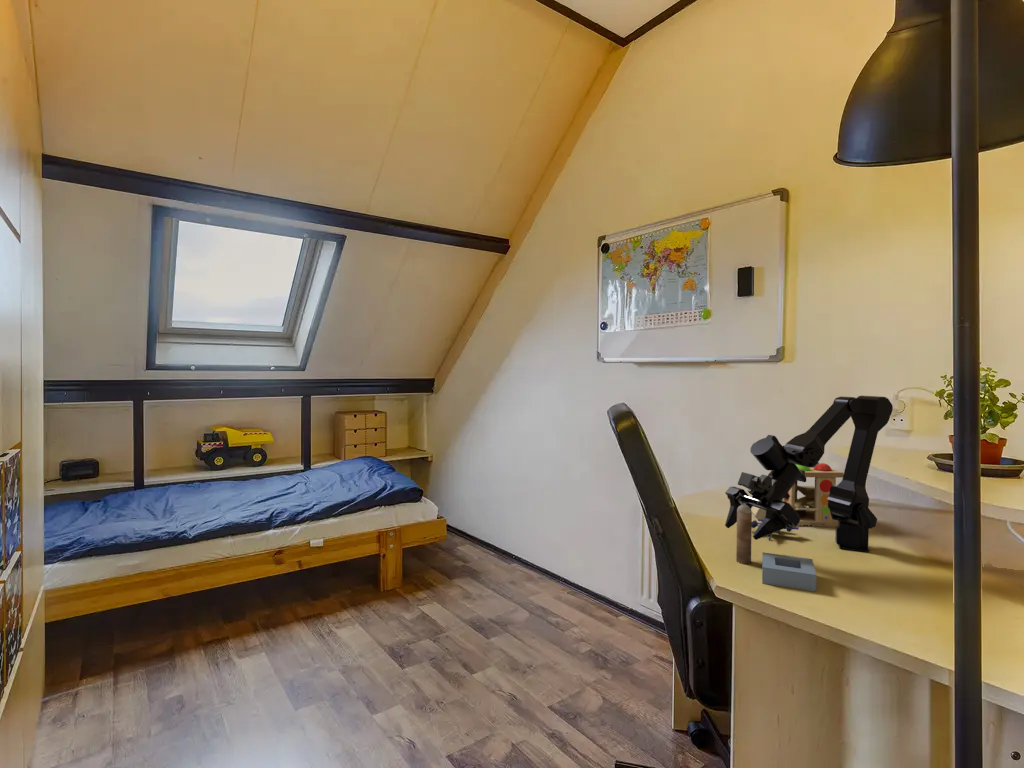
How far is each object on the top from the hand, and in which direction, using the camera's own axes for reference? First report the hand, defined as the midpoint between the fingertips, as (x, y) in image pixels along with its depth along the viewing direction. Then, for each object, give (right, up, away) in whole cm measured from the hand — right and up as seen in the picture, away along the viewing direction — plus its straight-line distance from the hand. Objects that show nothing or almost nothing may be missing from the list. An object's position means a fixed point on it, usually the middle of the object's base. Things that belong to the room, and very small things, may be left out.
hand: (739, 532), depth 125 cm
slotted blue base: (+6, -7, -10) cm, 14 cm away
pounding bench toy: (+31, -6, +36) cm, 48 cm away
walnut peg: (+1, -7, +1) cm, 7 cm away
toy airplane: (+17, -7, +20) cm, 27 cm away
